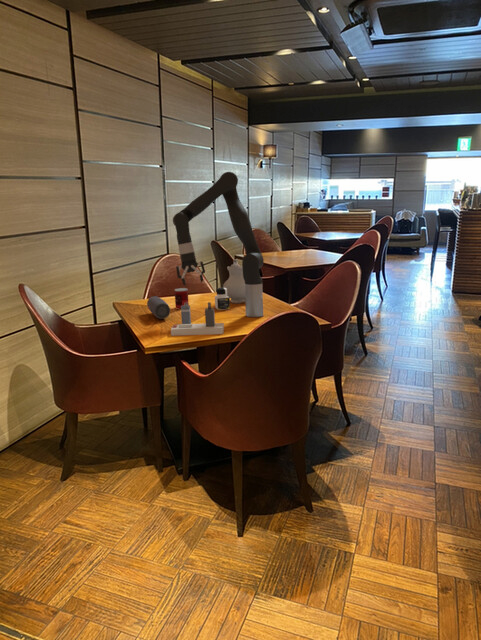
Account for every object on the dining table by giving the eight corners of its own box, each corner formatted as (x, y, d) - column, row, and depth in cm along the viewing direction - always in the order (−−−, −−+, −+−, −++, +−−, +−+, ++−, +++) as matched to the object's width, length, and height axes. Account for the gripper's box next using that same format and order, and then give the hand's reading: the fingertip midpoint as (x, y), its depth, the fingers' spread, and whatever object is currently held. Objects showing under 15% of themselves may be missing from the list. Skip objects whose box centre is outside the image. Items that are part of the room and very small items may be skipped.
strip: (223, 329, 232) (222, 300, 228) (223, 333, 223) (221, 304, 220) (174, 330, 232) (172, 302, 229) (171, 335, 224) (169, 306, 220)
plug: (191, 324, 242) (190, 305, 240) (190, 326, 238) (189, 307, 236) (183, 325, 243) (181, 305, 240) (182, 327, 239) (180, 307, 236)
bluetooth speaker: (146, 313, 272) (145, 296, 270) (163, 311, 275) (161, 294, 273) (154, 322, 251) (152, 303, 249) (171, 320, 254) (170, 301, 252)
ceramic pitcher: (218, 301, 304) (214, 262, 297) (246, 295, 311) (242, 257, 304) (232, 307, 284) (228, 265, 278) (262, 301, 292) (258, 260, 285)
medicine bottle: (217, 310, 273) (216, 289, 270) (215, 308, 280) (214, 287, 277) (230, 309, 275) (229, 288, 272) (227, 306, 281) (226, 286, 278)
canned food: (189, 306, 287) (188, 287, 285) (188, 308, 280) (187, 290, 277) (176, 306, 287) (175, 288, 285) (175, 309, 279) (173, 290, 277)
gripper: (200, 249, 249) (207, 280, 252) (173, 255, 248) (180, 286, 251) (200, 249, 242) (207, 281, 244) (172, 255, 241) (179, 287, 243)
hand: (193, 283), depth 247 cm, fingers open, 8 cm apart
